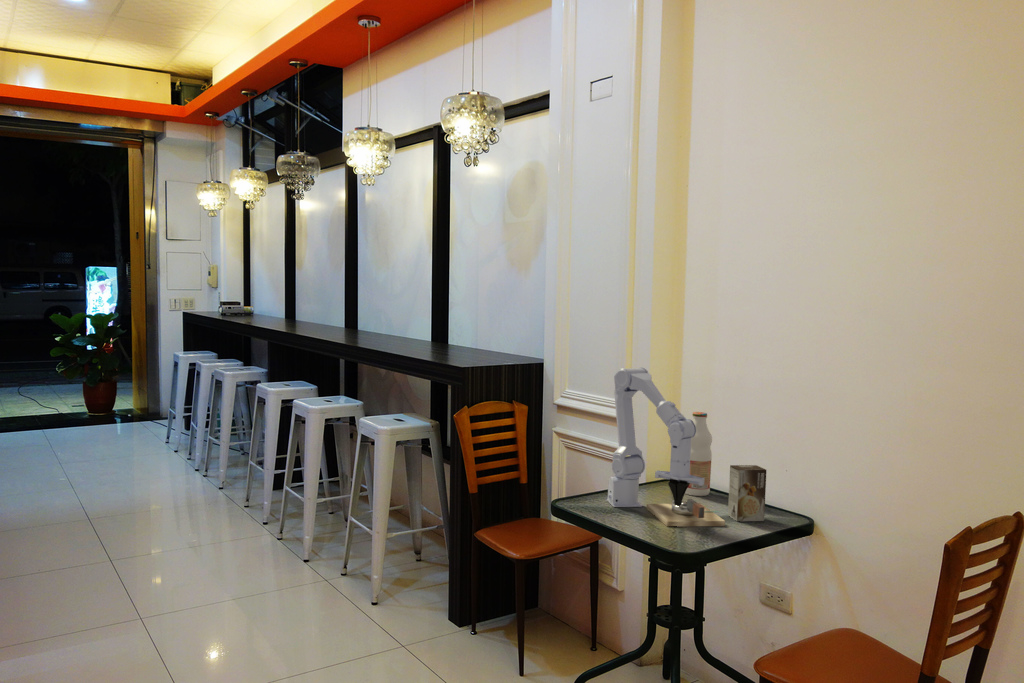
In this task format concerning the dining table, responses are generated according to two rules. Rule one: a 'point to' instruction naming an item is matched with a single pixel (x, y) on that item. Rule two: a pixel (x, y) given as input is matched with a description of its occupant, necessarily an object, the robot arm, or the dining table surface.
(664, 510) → the nut base
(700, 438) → the fruit juice
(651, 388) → the robot arm
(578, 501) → the dining table surface
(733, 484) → the biscuit box
